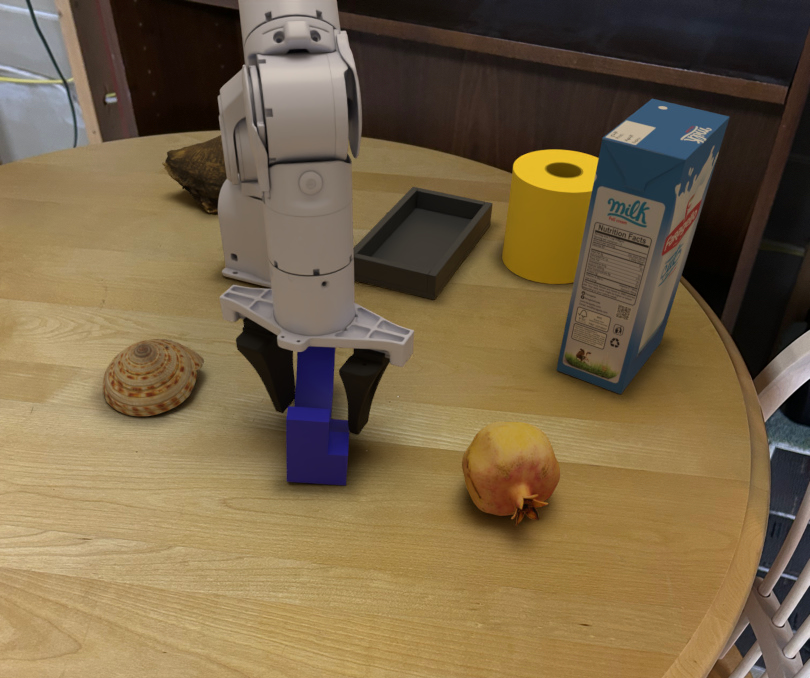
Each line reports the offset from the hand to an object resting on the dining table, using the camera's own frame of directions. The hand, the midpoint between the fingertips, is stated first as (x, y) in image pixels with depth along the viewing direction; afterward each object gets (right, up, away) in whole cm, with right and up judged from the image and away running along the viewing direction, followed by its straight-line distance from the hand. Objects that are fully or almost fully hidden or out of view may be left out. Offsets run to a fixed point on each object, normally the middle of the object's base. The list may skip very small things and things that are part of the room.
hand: (321, 415), depth 64 cm
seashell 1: (-15, +3, +6) cm, 16 cm away
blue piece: (0, -1, +2) cm, 2 cm away
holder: (+9, +21, +23) cm, 32 cm away
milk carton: (+26, +7, +10) cm, 28 cm away
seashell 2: (-12, +30, +31) cm, 45 cm away
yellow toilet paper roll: (+22, +20, +22) cm, 37 cm away
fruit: (+14, -7, -3) cm, 16 cm away
